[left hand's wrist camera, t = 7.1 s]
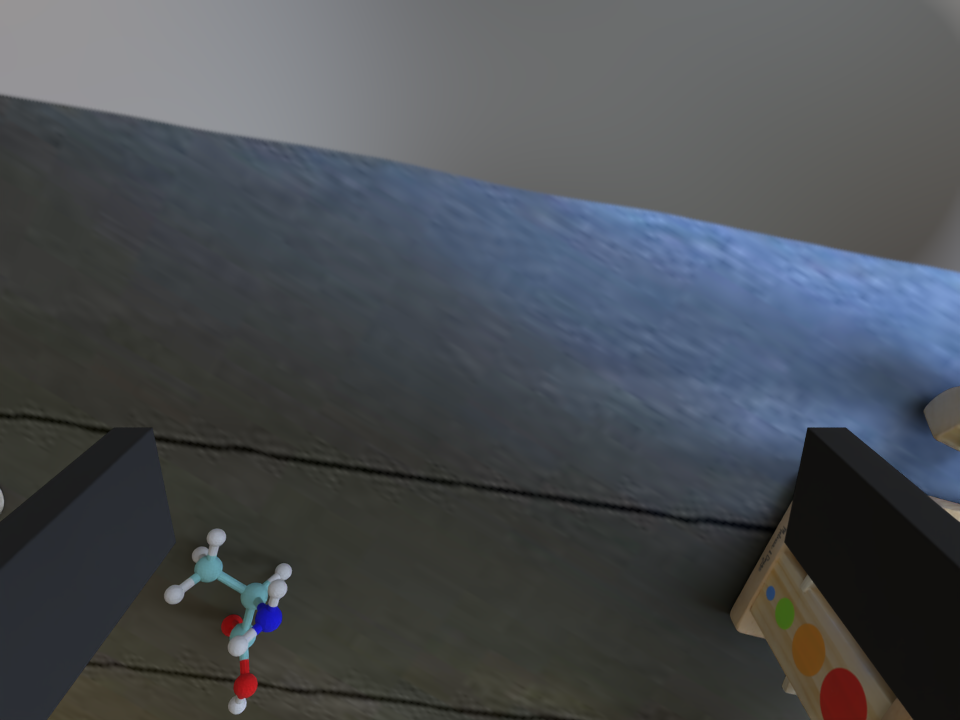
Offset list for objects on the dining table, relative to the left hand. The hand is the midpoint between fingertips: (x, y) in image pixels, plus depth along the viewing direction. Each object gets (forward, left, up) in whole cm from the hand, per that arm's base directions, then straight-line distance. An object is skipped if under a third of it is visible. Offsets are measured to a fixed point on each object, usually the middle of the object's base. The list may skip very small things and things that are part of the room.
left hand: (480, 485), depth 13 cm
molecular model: (-25, +17, -28) cm, 41 cm away
